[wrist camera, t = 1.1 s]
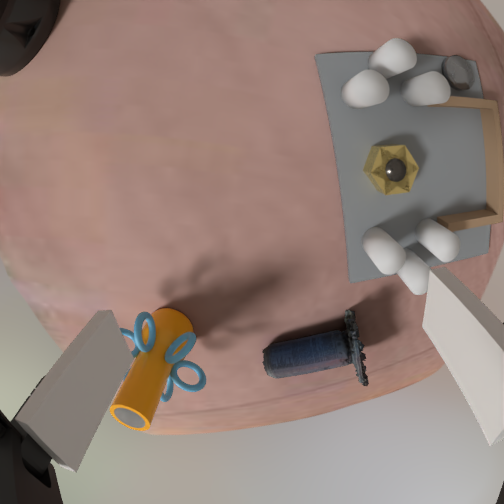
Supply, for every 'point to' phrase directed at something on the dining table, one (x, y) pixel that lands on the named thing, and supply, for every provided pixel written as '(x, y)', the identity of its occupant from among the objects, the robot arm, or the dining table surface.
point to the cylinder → (155, 366)
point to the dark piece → (317, 353)
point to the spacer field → (425, 155)
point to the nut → (391, 168)
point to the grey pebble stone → (457, 73)
